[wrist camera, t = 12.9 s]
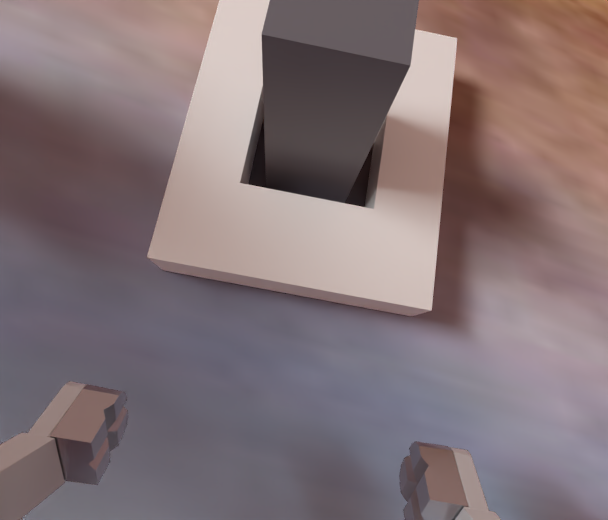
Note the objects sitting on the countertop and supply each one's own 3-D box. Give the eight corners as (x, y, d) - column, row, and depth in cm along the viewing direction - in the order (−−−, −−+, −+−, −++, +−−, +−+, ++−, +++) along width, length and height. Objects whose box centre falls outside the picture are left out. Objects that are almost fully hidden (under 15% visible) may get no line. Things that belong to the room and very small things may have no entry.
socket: (162, 270, 19) (146, 257, 16) (228, 28, 22) (222, -12, 20) (411, 316, 19) (431, 310, 17) (437, 72, 23) (457, 38, 20)
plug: (266, 190, 20) (261, 34, 10) (280, 121, 21) (289, -80, 11) (343, 205, 20) (410, 65, 10) (354, 136, 21) (424, -50, 11)
